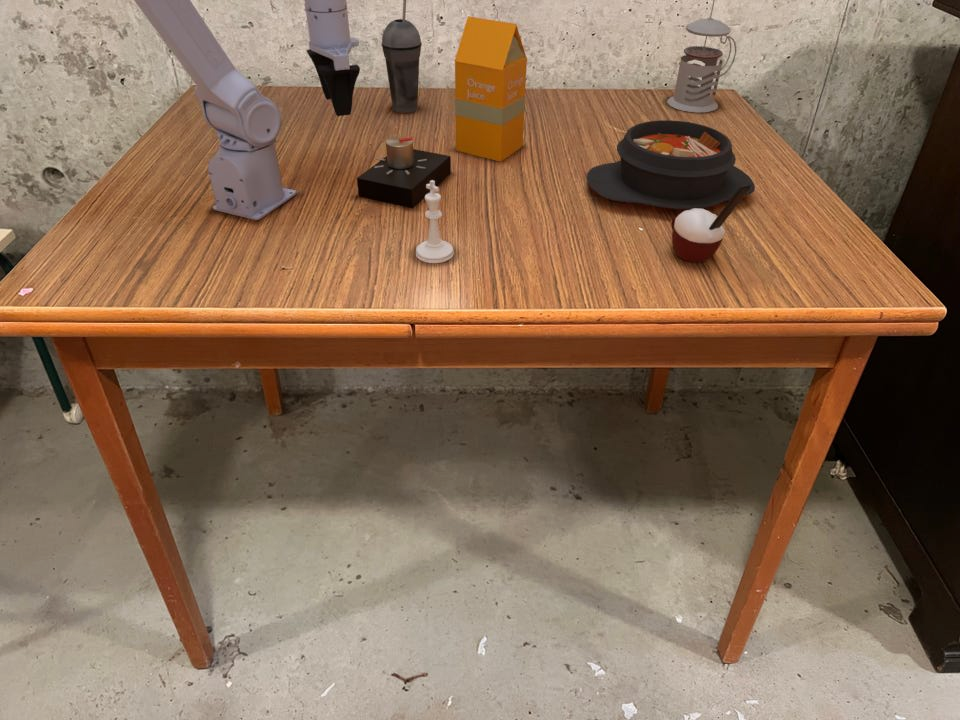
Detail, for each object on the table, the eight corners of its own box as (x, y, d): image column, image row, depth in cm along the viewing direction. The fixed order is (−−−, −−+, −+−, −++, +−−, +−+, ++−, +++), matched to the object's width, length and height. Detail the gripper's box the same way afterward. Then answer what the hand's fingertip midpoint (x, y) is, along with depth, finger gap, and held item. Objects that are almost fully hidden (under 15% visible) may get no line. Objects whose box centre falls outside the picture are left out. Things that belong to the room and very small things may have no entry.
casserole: (722, 163, 112) (735, 112, 107) (773, 217, 98) (790, 160, 93) (573, 169, 110) (578, 117, 105) (602, 225, 96) (610, 167, 90)
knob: (391, 171, 101) (390, 146, 99) (384, 160, 104) (382, 136, 102) (417, 167, 103) (416, 142, 100) (409, 156, 105) (408, 132, 103)
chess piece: (433, 240, 92) (431, 169, 85) (461, 252, 89) (461, 180, 83) (407, 254, 89) (403, 182, 82) (436, 267, 86) (433, 193, 80)
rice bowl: (659, 240, 92) (676, 154, 85) (704, 238, 93) (725, 153, 85) (681, 278, 85) (702, 188, 78) (730, 276, 86) (756, 186, 78)
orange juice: (478, 135, 120) (480, 11, 108) (523, 146, 117) (529, 18, 104) (454, 150, 115) (453, 21, 103) (500, 162, 112) (504, 30, 99)
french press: (658, 97, 137) (683, -46, 121) (708, 92, 140) (739, -49, 124) (683, 114, 130) (713, -36, 114) (736, 109, 133) (772, -39, 117)
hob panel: (412, 208, 99) (411, 188, 97) (355, 196, 102) (352, 176, 100) (451, 174, 108) (450, 154, 106) (397, 163, 111) (396, 144, 109)
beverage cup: (380, 105, 132) (371, -11, 119) (416, 100, 134) (411, -14, 122) (393, 117, 127) (385, -3, 114) (430, 112, 129) (426, -6, 117)
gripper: (367, 17, 92) (375, 119, 100) (343, -5, 102) (352, 88, 111) (314, 22, 90) (327, 125, 98) (295, -2, 100) (309, 93, 109)
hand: (337, 106), depth 104 cm, fingers open, 7 cm apart
